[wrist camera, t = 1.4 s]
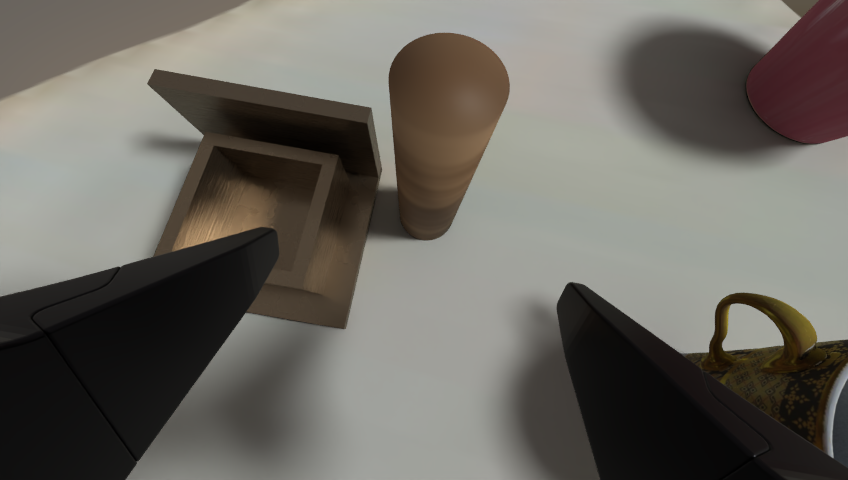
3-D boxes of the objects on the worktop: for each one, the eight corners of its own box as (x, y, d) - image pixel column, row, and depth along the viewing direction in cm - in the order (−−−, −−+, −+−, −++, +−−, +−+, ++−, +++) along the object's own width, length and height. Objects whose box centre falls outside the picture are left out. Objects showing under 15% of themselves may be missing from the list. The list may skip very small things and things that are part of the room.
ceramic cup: (800, 433, 20) (1175, 542, 10) (697, 534, 18) (1033, 783, 8) (667, 267, 22) (866, 228, 13) (565, 341, 20) (705, 362, 11)
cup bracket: (345, 328, 20) (313, 333, 13) (168, 297, 20) (45, 287, 13) (382, 169, 23) (371, 107, 16) (229, 142, 23) (154, 69, 16)
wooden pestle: (448, 244, 22) (503, 144, 9) (395, 235, 22) (377, 121, 9) (456, 194, 23) (514, 44, 10) (405, 185, 23) (401, 23, 10)
